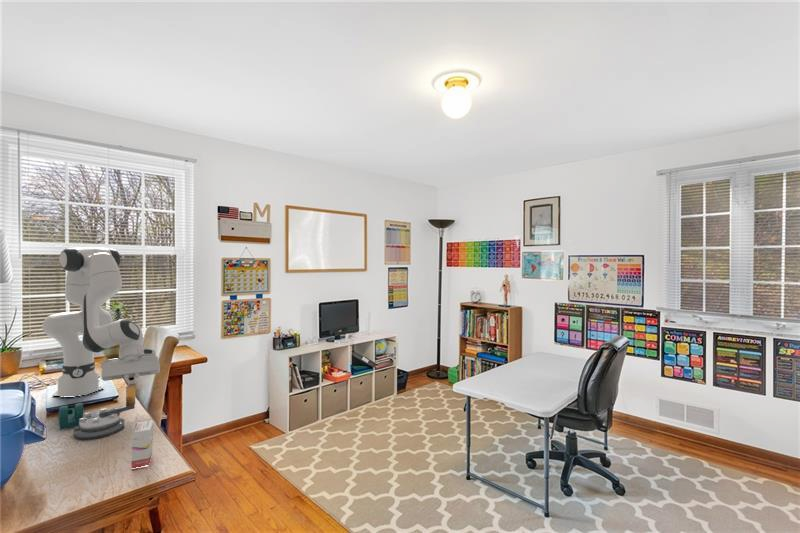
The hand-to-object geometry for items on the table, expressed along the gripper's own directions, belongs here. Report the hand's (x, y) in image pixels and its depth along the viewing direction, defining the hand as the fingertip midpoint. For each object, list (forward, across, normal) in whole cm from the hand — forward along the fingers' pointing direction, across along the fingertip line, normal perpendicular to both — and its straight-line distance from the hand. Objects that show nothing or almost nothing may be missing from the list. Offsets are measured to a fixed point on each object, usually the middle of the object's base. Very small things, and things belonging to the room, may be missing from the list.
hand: (132, 385), depth 158 cm
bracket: (+4, -20, +14) cm, 25 cm away
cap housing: (+16, -10, +1) cm, 19 cm away
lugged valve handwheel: (+14, -7, 0) cm, 16 cm away
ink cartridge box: (+42, +2, -23) cm, 48 cm away
